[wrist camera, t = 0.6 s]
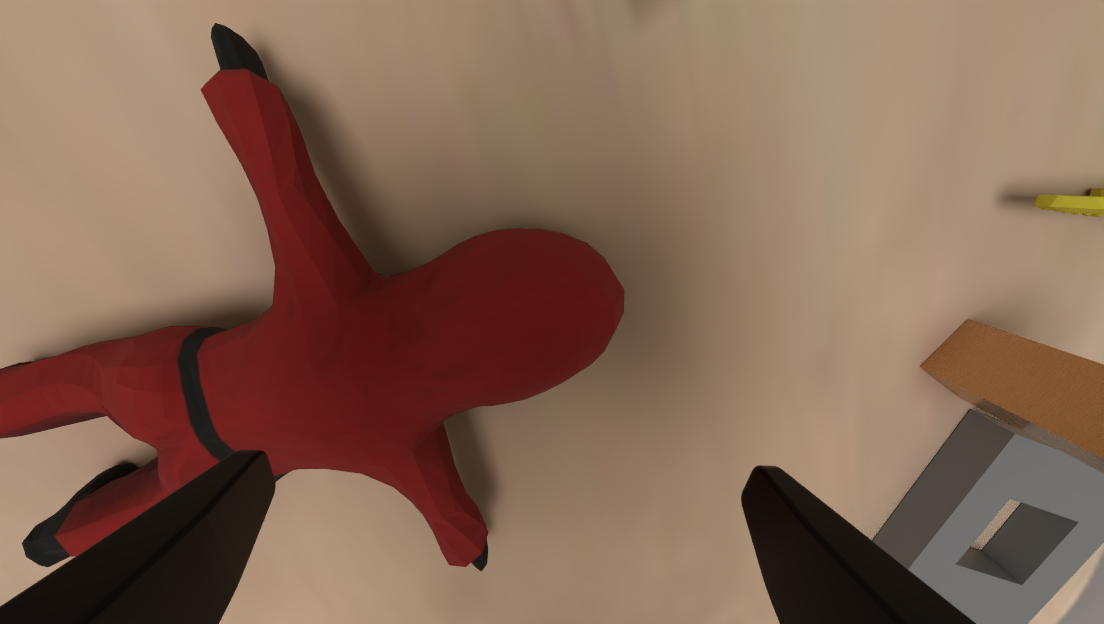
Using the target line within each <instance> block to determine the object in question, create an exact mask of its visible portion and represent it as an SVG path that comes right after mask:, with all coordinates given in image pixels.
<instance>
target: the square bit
mask: <svg viewBox="0 0 1104 624" xmlns="http://www.w3.org/2000/svg"><path fill="white" fill-rule="evenodd" d="M920 367H921V368H922V369H923V370H925V371H926V372H927V373H928V374H930V375H931V376H932V377H934V378H935V379H936V380H937V381H939V382H940V383H941V384H942V385H944V386H945V387H946V388H948V389H949V390H950V391H951V392H953V393H954V394H955V395H956V396H958V397H959V398H961V399H963V400H965V401H967V402H969V403H971V404H973V405H975V406H977V407H978V408H980V409H982V410H984V411H986V412H988V413H990V414H992V415H994V416H995V417H997V418H999V419H1001V420H1003V421H1005V422H1007V423H1009V424H1011V425H1013V426H1014V427H1016V428H1018V429H1020V430H1022V431H1024V432H1026V433H1028V434H1030V435H1032V436H1033V437H1035V438H1037V439H1039V440H1041V441H1043V442H1045V443H1047V444H1049V445H1051V446H1052V447H1054V448H1056V449H1058V450H1060V451H1062V452H1064V453H1066V454H1068V455H1070V456H1071V457H1073V458H1075V459H1077V460H1079V461H1081V462H1083V463H1085V464H1087V465H1089V466H1090V467H1092V468H1094V469H1096V470H1098V471H1100V472H1102V473H1104V365H1103V364H1100V363H1097V362H1094V361H1091V360H1088V359H1085V358H1082V357H1079V356H1076V355H1073V354H1070V353H1067V352H1065V351H1062V350H1059V349H1056V348H1053V347H1050V346H1047V345H1044V344H1041V343H1038V342H1035V341H1032V340H1029V339H1026V338H1023V337H1020V336H1017V335H1014V334H1011V333H1008V332H1005V331H1002V330H999V329H996V328H993V327H990V326H987V325H984V324H981V323H978V322H975V321H972V320H969V319H968V320H967V321H966V322H965V323H964V324H963V325H961V326H960V327H959V328H958V329H957V330H956V331H955V332H954V333H953V334H952V335H951V336H950V337H949V338H948V339H947V340H946V341H945V342H944V343H943V344H942V345H941V346H940V347H939V348H938V349H937V350H936V351H935V352H934V353H933V354H932V355H931V356H930V357H929V358H928V359H927V360H926V361H925V362H924V363H923V364H922V365H921V366H920Z"/></svg>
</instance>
